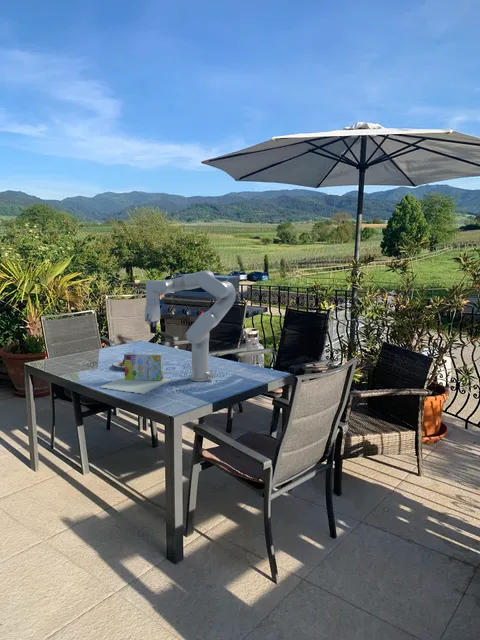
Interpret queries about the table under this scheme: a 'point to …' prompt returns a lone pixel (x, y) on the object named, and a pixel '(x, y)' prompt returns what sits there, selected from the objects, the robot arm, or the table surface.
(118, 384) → the mat
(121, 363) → the food on plate
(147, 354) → the snack box
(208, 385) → the table surface
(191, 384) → the table surface
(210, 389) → the table surface
